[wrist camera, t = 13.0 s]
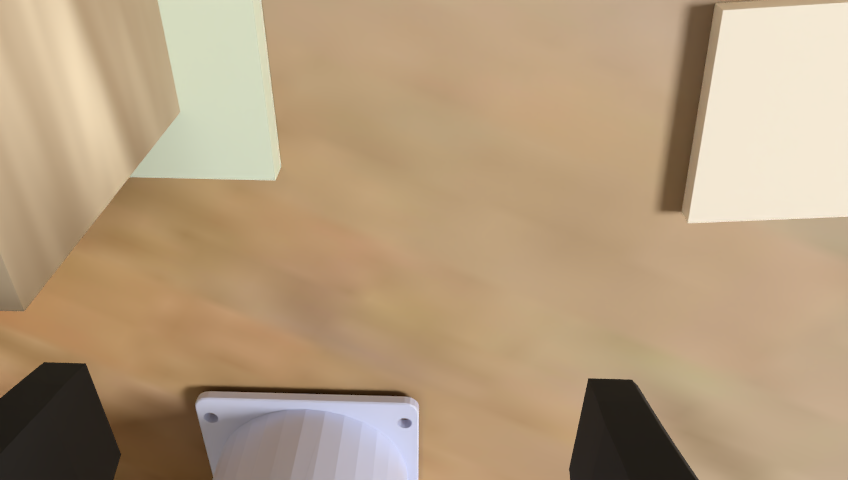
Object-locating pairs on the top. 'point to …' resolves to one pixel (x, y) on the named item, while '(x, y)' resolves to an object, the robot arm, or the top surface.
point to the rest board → (217, 94)
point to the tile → (772, 114)
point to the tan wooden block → (72, 124)
